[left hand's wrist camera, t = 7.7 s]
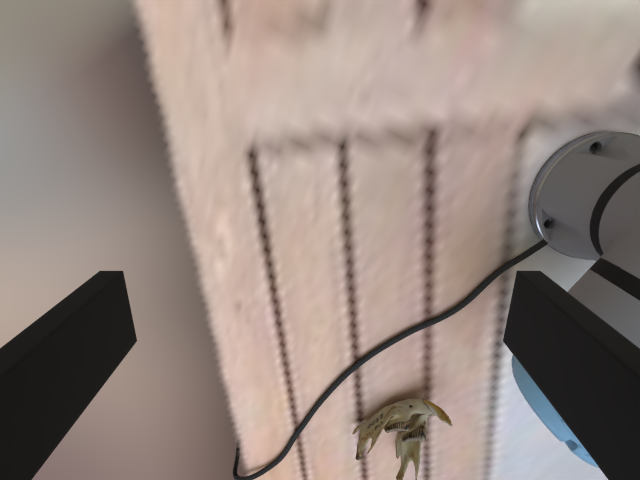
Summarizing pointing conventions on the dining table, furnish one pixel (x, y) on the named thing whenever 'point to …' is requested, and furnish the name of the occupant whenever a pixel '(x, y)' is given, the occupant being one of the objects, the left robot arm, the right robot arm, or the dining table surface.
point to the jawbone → (401, 429)
